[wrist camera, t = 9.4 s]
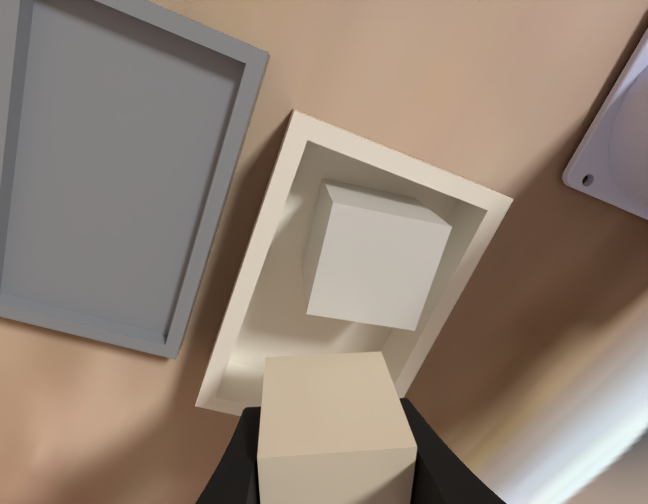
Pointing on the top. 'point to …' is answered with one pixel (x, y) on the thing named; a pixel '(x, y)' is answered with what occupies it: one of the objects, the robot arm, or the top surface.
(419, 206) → the light gray cube
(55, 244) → the slate tray
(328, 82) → the top surface
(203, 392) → the cream dish
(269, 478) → the beige cube
